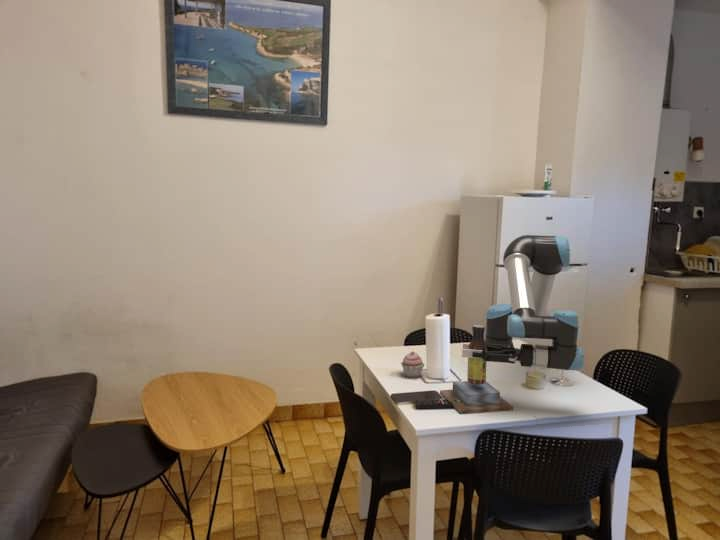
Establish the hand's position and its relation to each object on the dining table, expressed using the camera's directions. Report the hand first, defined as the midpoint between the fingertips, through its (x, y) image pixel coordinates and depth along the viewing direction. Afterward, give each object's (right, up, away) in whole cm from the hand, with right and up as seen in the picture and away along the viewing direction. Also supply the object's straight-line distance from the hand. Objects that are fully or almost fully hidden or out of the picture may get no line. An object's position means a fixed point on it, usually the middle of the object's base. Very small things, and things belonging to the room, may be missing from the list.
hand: (462, 350), depth 178 cm
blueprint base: (+5, -18, +1) cm, 19 cm away
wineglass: (+43, -16, +22) cm, 51 cm away
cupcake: (-15, -14, +27) cm, 34 cm away
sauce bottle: (+5, -11, 0) cm, 12 cm away
